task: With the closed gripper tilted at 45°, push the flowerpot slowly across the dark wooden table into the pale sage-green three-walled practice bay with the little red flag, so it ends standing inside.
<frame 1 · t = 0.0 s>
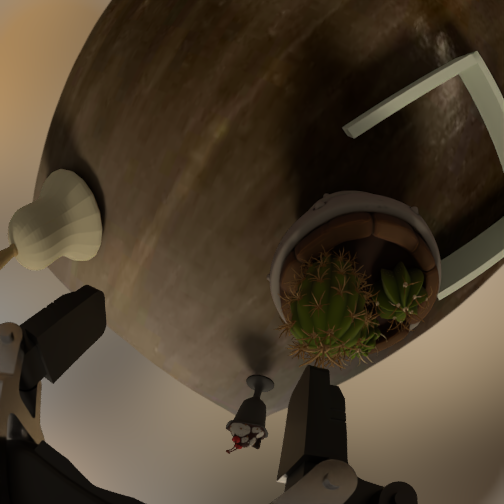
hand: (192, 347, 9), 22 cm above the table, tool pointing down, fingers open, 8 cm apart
practice bay: (448, 173, 23), on the table
handbell: (76, 212, 37), on the table
flowerpot: (348, 236, 29), on the table
sundae: (260, 382, 45), on the table
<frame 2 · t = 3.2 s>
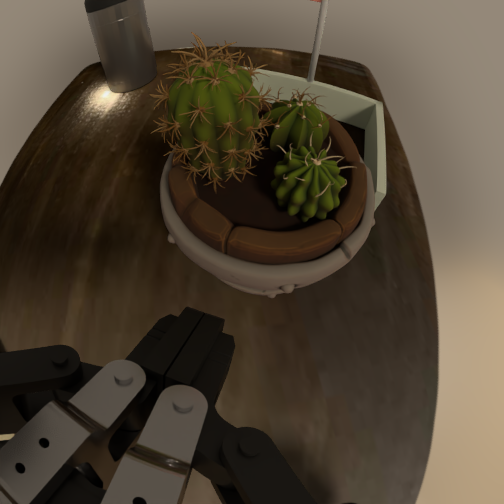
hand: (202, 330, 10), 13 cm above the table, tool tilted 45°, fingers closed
practice bay: (292, 144, 32), on the table
flowerpot: (261, 241, 27), on the table
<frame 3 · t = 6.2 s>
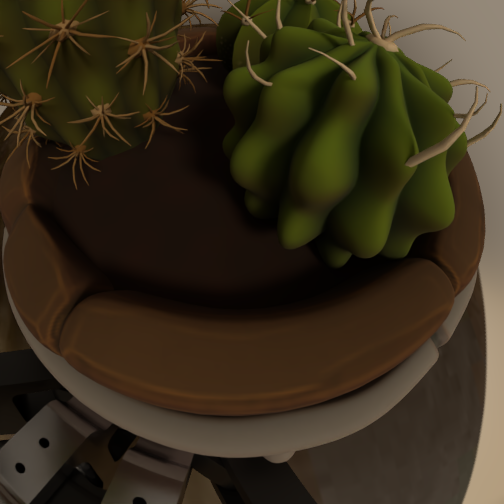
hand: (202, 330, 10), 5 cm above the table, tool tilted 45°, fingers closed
flowerpot: (239, 279, 16), on the table, touching gripper, hand
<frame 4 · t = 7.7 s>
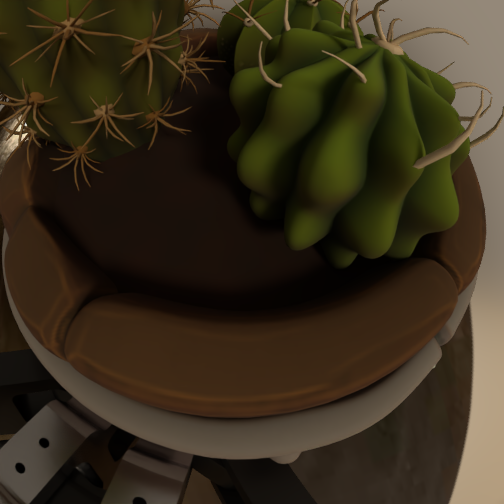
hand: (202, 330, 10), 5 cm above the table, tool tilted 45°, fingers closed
flowerpot: (239, 280, 16), on the table, touching hand
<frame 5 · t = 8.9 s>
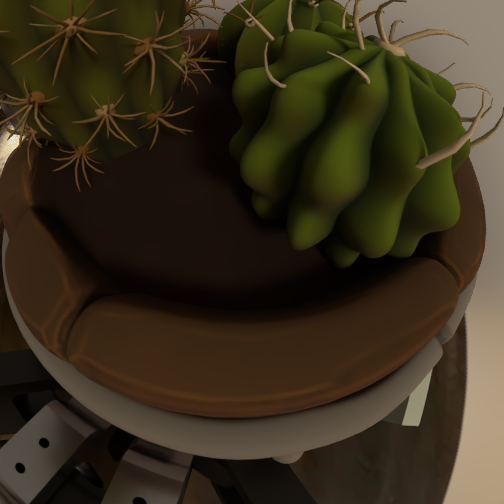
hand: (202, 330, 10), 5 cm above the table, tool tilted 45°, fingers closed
practice bay: (246, 247, 17), on the table
flowerpot: (238, 281, 16), on the table, touching gripper, hand
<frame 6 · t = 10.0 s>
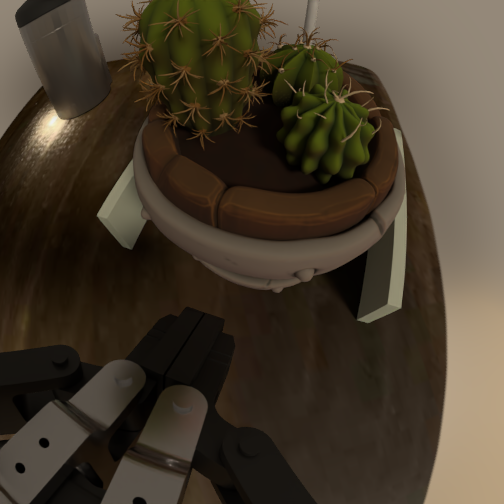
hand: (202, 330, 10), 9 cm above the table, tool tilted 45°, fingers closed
practice bay: (268, 199, 23), on the table
flowerpot: (261, 227, 22), on the table
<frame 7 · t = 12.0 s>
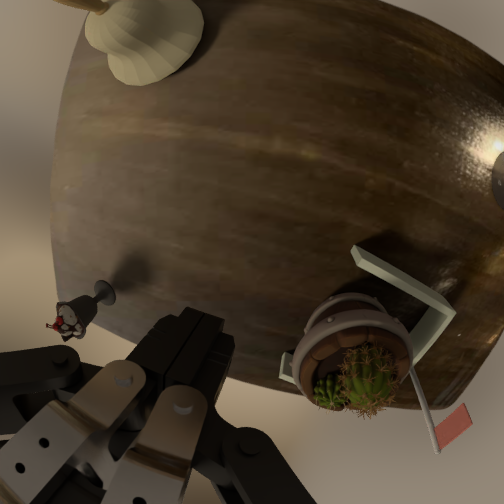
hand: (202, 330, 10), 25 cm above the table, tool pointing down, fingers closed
practice bay: (361, 328, 37), on the table
handbell: (158, 41, 28), on the table
flowerpot: (346, 321, 37), on the table
sundae: (105, 292, 44), on the table
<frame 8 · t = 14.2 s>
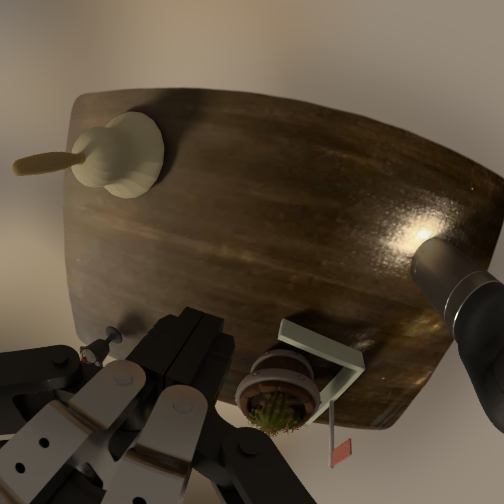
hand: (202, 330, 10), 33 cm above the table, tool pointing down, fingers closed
practice bay: (295, 370, 51), on the table
handbell: (132, 154, 43), on the table
flowerpot: (283, 365, 51), on the table
sundae: (114, 334, 58), on the table
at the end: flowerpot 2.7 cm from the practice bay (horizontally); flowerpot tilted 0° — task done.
